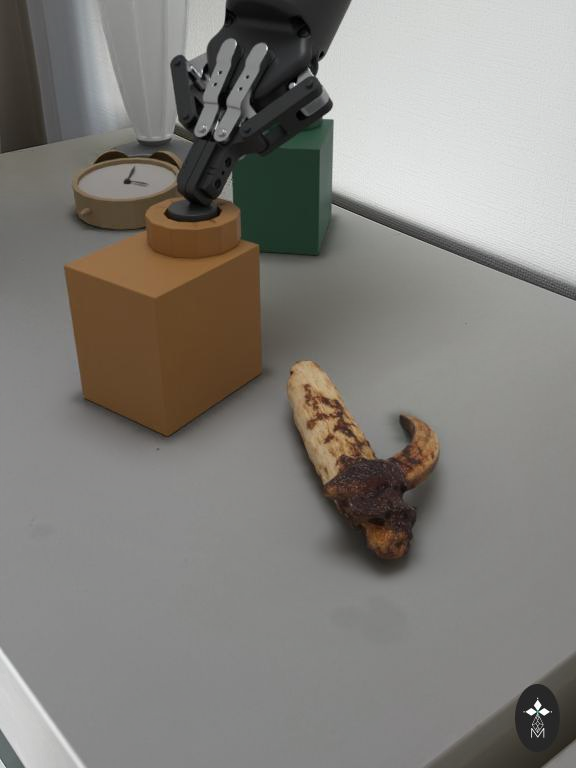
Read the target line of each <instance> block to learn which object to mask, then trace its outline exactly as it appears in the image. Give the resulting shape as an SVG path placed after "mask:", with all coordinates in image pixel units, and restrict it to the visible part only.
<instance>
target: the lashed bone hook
mask: <svg viewBox="0 0 576 768" xmlns="http://www.w3.org/2000/svg"><path fill="white" fill-rule="evenodd" d="M286 393H287V400H288V402H289V405H290V407H291V409H292V412H293V420H294V425H295V426H296V428H297V430H298V432H299V434H300V436H301V438H302V441H303V444H304V447H305V450H306V452H307V455H308V459H309V460H310V462H311V463H312V464H313V465H314V468H315V472H316V474H317V475H318V477H319V478H320V480H321V483H322V485H323V492H322V493H323V495H324V497H326V498H328V499H331V500H333V501H334V503H335V505H336V509H337V511H338V513H340V514H341V516H342V517H343V518H344V519H345V521H346V522H347V523H348V524H349V525H350V527H351V528H352V529H353V530H354V531H356V532H361V533H362V534H363V535H365V537H366V542H367V544H366V548H368V549H369V550H370V551H372V552H374V553H375V554H376V555H377V556H378V557H379V558H381V559H383V560H395V559H399V558H402V557H405V556H409V555H408V554H409V552H410V550H411V544H410V542H411V541H412V540H413V539H414V534H413V528H414V526H415V524H416V521H417V517H418V515H417V511H418V507H417V506H410V504H408V503H406V502H405V501H404V494H405V493H406V492H408V491H411V490H413V489H416V488H417V487H418V486H419V485H420V484H421V483H423V482H424V481H426V480H427V479H428V477H430V476H431V475H432V473H433V472H434V470H435V469H436V467H437V464H438V462H439V459H440V454H441V453H440V452H441V445H440V440H439V437H438V435H437V433H436V431H435V430H434V429H433V428H432V427H431V426H430V425H429V424H427V423H426V422H424V421H423V420H421V419H420V418H417V417H415V416H413V415H411V414H407V413H401V414H399V415H398V417H399V422H400V423H401V424H402V426H403V427H404V428H405V430H406V431H407V433H409V434H410V436H411V442H410V444H406V446H405V447H404V448H403V449H402V450H400V451H399V452H396V453H395V454H394V455H392V456H390V457H387V458H386V459H382V458H378V457H377V456H376V454H375V451H374V449H373V448H372V447H371V444H370V442H369V440H368V439H367V437H366V436H365V434H364V432H363V431H362V429H361V428H360V426H359V424H358V423H357V421H356V420H355V418H354V417H353V415H352V414H351V412H350V411H349V409H348V408H347V406H346V404H345V403H344V400H343V397H342V396H341V393H340V392H339V390H338V388H337V387H336V386H335V384H334V383H333V382H332V381H331V380H330V377H329V375H328V374H327V373H326V372H325V371H323V370H322V368H321V366H320V365H318V364H317V363H316V362H314V361H312V360H298V361H296V362H295V363H294V364H292V366H290V368H289V378H288V379H287V381H286Z"/></svg>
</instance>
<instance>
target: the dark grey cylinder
mask: <svg viewBox="0 0 576 768" xmlns="http://www.w3.org/2000/svg"><path fill="white" fill-rule="evenodd" d="M168 213H169V219H170V220H174V221H177V222H193V223H195V222H202V221H208V220H211V219H214V218H216V217H217V205H216V204H215V203H214V202H212V203H211V205H210V206H207V207H206V206H202V205H199V204H195V203H191V202H189V201H187V200H186V199H184V200H180V201H176V202H174V203H172V204H171V205H169V207H168Z"/></svg>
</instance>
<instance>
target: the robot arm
mask: <svg viewBox="0 0 576 768" xmlns="http://www.w3.org/2000/svg"><path fill="white" fill-rule="evenodd" d="M352 1H353V0H225V9H224V21H223V25H222V27H221V28H220V29H219V31H218V32H217V33H216V34H215V35H214V36H212V37H211V39H210V40H209V41H208V43H207V45H206V51H205V52H203V53H201V54H200V55H198V56H196V57H194V58H192V59H190V60H188V59H187V58H186V56H185V57H184V56H183V55H177V56H176V57H174V58H173V59H172V61H171V63H170V68H171V74H172V81H173V88H174V95H175V101H176V108H177V120H178V123H179V124H180V125H181V126H182V127H183V128H184V129H185V130H186V131H187V132H188V133H189V134H190V135H191V137H193V143H192V144H193V145H192V147H191V149H190V151H189V153H188V155H187V157H186V159H185V161H184V163H183V165H182V168H181V169H180V171H179V173H178V175H177V183H178V184H177V190H178V192H179V193H180V194H181V195H182V196H183V197H184V198H185V199H186V200H187V201H189V202H191V203H195V204H199V205H202V206H206V207H207V206H210V205H211V203H212V201H213V200H216V199H217V198H219V197H220V195H222V192H223V190H224V189H225V186H226V184H227V182H228V180H229V178H230V176H231V175H232V170H233V168H234V166H235V164H236V162H237V161H239V160H241V159H243V158H244V157H245V156H246V155H247V154H254V153H256V154H257V156H259V157H265V156H267V155H269V154H270V153H272V152H273V151H274V150H276V149H277V148H279V147H280V146H281V145H283V144H284V143H286V142H287V141H289V140H290V139H291V138H293V137H294V136H296V135H297V134H299V133H300V132H301V131H303V130H304V129H306V128H307V127H308V126H310V125H311V124H313V123H314V122H316V121H317V120H318V119H320V118H321V117H323V118H324V116H326V115H327V114H328V113H330V112H331V111H332V110H333V107H334V102H333V100H332V99H331V96H330V95H329V93H328V91H327V90H326V88H325V86H324V85H323V84H322V83H321V81H320V80H319V78H318V77H317V75H318V72H319V67H320V66H319V65H320V64H319V62H321V61H322V60H323V59H324V58H326V57H325V56H326V55H327V53H328V52H329V50H330V47H331V45H332V43H333V41H334V40H335V37H336V34H337V32H338V31H339V28H340V26H341V24H342V22H343V20H344V18H345V16H346V13H347V11H348V10H349V8H350V5H351V4H352ZM277 123H279V125H277V126H276V127H275V128H273V129H272V130H270V131H269V132H268V133H266V134H265V135H264V134H263V133H264V132H265V131H266V130H267V129H269V128H270V127H272V126H273V125H275V124H277Z"/></svg>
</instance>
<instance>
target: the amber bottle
mask: <svg viewBox="0 0 576 768" xmlns="http://www.w3.org/2000/svg"><path fill="white" fill-rule="evenodd" d="M184 199H185V198H184V197H179V198H172V199H168V200H165V201H162V202H160V203H158V204H155V205H153V206H151V207H150V208H149V210H148V211H147V212H146V214H145V221H146V227H145V230H141V231H140V232H138V233H136V234H133V235H131V236H129V237H127V238H124V239H121V240H120V241H116V242H114V243H112V244H110V245H108V246H105V247H103V248H101V249H98V250H96V251H94V252H92V253H89V254H87V255H84V256H82V257H80V258H78V259H75V260H73V261H71V262H68V263H66V264H64V265H63V270H64V276H65V284H66V290H67V296H68V302H69V310H70V317H71V324H72V330H73V331H72V332H73V337H74V343H75V349H76V357H77V363H78V370H79V377H80V384H81V390H82V397H83V399H86V400H88V401H90V402H93V403H94V404H96V405H98V406H101V407H102V408H105V409H107V410H109V411H112V412H114V413H116V414H118V415H121V416H123V417H124V418H126V419H129V420H131V421H133V422H136V424H140V425H141V426H143V427H146V428H148V429H151V431H155V432H157V433H158V434H160V435H163V436H165V437H169V436H171V435H172V434H174V433H175V432H177V431H178V430H181V428H183V427H184V426H185V425H187V424H189V423H190V422H191V421H193V420H194V419H196V418H197V417H198V416H200V415H202V414H203V413H205V412H206V411H208V410H209V409H211V408H212V407H214V406H215V405H217V404H218V403H219V402H221V401H222V400H224V399H225V398H227V397H229V396H230V395H231V394H233V393H234V392H236V391H237V390H239V389H240V388H241V387H243V386H244V385H246V384H248V383H249V382H250V381H252V380H253V379H255V378H257V377H258V376H260V375H261V374H262V373H263V359H262V357H263V356H262V316H261V315H262V314H261V313H262V311H261V268H260V267H261V263H260V251H259V245H258V244H255V243H252V242H248V241H245V240H241V239H240V238H241V218H240V209H239V208H238V207H237V206H236V205H235V204H234V203H233V201H231V200H228V199H224V198H219V197H217V199H216V200H213V201H212V202H214V203H215V204H216V205H217V217H216V218H214V219H211V220H208V221H202V222H195V223H193V222H177V221H174V220H170V219H169V213H168V207H169V205H171V204H172V203H174V202H176V201H180V200H184Z"/></svg>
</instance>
